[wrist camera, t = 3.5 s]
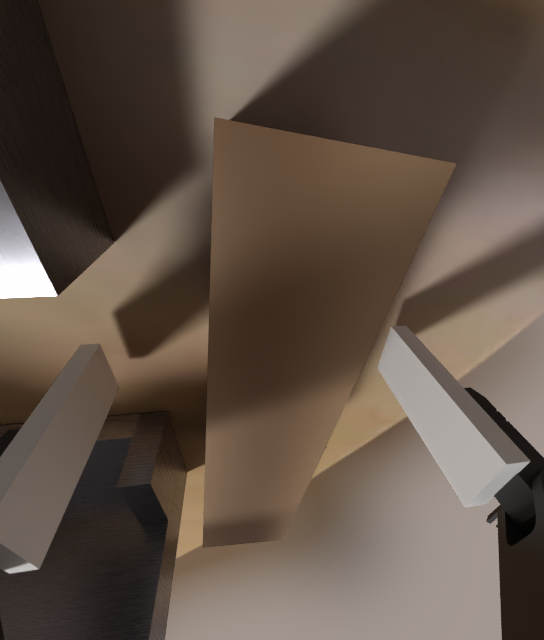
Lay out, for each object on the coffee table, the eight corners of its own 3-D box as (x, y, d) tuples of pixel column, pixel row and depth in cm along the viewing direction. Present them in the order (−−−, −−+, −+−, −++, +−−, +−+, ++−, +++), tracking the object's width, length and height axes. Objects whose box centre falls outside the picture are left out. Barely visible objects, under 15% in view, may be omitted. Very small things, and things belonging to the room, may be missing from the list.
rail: (340, 146, 9) (456, 163, 5) (269, 433, 19) (282, 539, 14) (224, 125, 9) (214, 117, 4) (210, 434, 18) (202, 547, 13)
